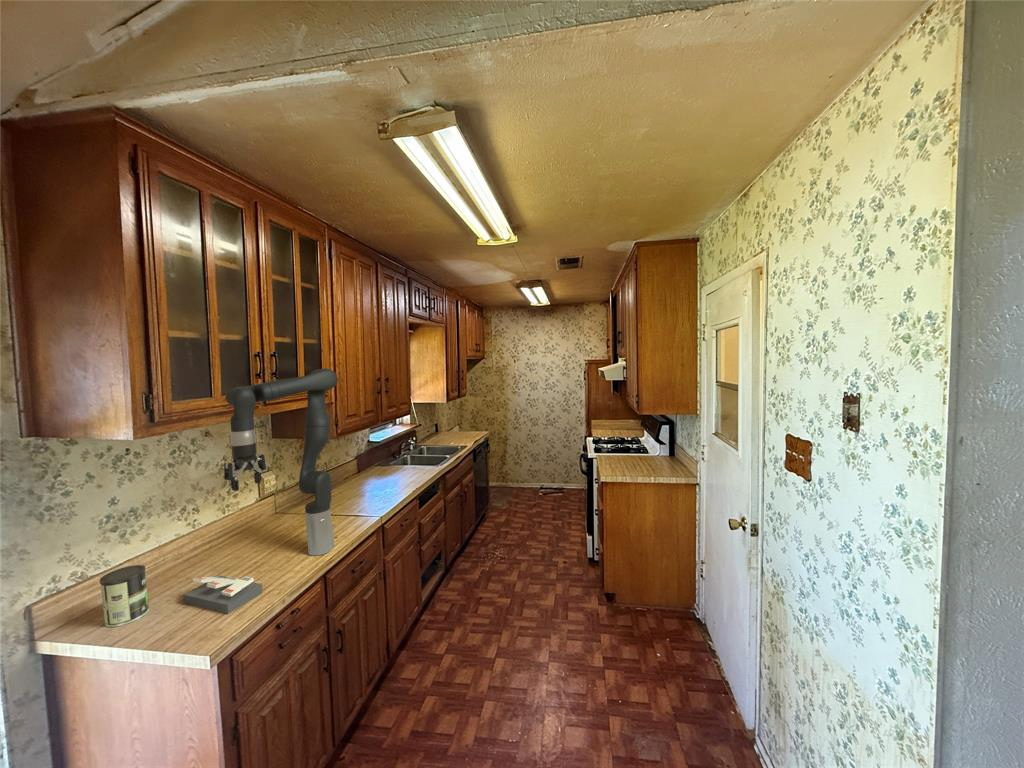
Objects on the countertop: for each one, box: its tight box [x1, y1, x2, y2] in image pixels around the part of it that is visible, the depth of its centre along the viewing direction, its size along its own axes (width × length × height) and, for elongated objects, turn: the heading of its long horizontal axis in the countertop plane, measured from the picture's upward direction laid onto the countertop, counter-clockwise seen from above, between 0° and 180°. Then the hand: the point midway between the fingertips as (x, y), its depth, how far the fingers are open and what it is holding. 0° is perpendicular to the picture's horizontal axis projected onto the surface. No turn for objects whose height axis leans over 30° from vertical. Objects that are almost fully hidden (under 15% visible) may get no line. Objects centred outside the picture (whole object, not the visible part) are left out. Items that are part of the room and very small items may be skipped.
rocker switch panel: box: [182, 575, 263, 615], centre depth 136 cm, size 12×20×3 cm, turn 71°
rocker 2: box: [207, 577, 240, 589], centre depth 136 cm, size 8×5×1 cm, turn 161°
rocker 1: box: [192, 575, 224, 584], centre depth 139 cm, size 8×5×1 cm, turn 161°
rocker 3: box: [222, 576, 255, 597], centre depth 134 cm, size 8×5×1 cm, turn 161°
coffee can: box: [99, 564, 150, 628], centre depth 127 cm, size 10×10×14 cm
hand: (247, 486), depth 149 cm, fingers open, 8 cm apart
